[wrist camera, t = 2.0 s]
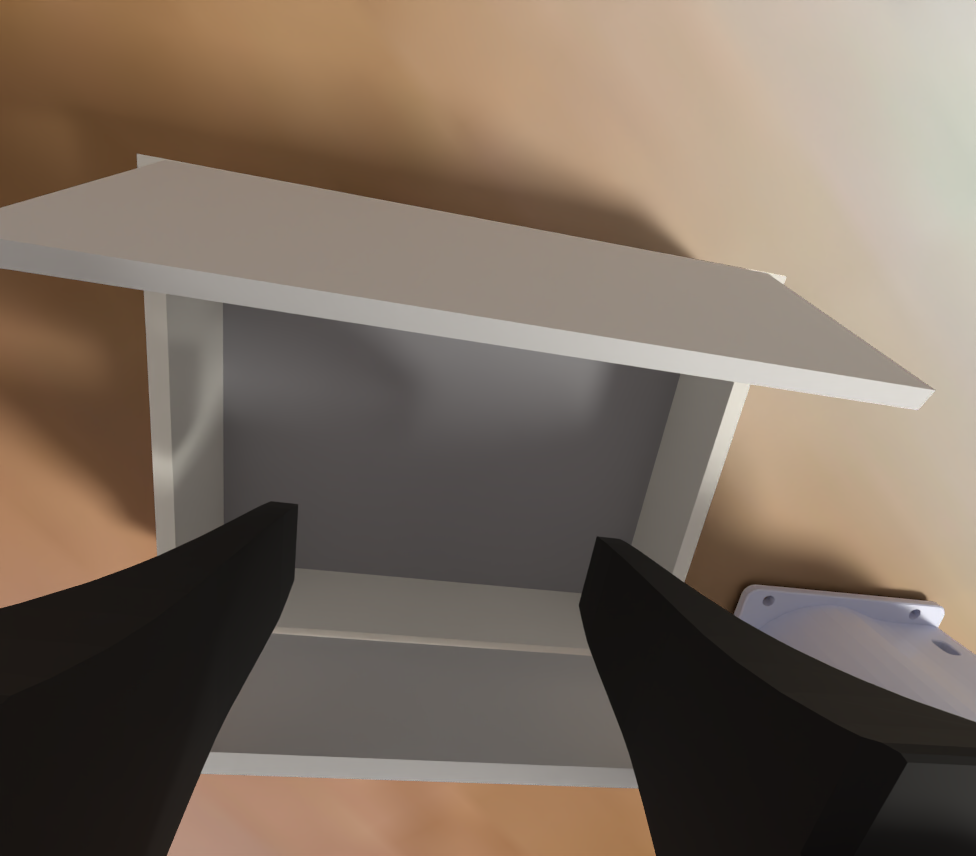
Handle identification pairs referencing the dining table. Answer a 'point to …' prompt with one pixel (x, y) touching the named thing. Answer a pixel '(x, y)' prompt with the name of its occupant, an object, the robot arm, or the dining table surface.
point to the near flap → (441, 278)
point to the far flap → (422, 716)
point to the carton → (426, 466)
